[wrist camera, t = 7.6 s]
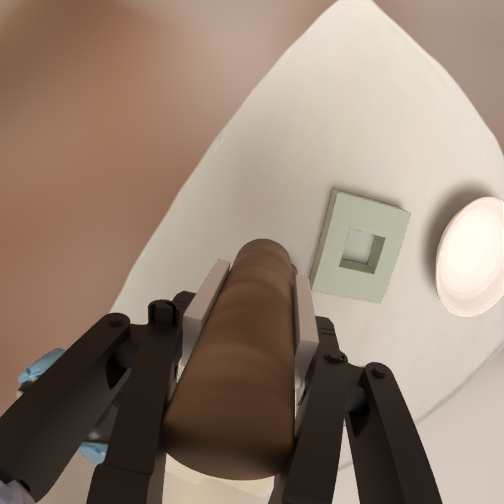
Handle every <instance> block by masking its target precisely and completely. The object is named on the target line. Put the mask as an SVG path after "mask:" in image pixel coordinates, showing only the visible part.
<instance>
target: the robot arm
mask: <svg viewBox="0 0 504 504" xmlns="http://www.w3.org/2000/svg"><path fill="white" fill-rule="evenodd" d="M229 269H230V261H225V260H219V259H218V260H217V262H216V263H215V265H214V267H213V268H212V270H211V271H210V273H209V274H208V276H207V278H206V279H205V281H204V282H203V284H202V286H201V287H200V289H199V290H198V292H197V294H196V293H191V292H187V291H182V292H180V293H178V294H177V295H176V296H175V297H174V299H173V300H172V301H169V300H155V301H153V302H151V303H150V304H149V305H148V324H146V325H138V324H130V319H129V317H128V316H126V315H124V314H121V313H110V314H107V315H105V316H104V317H102V318H101V319H100V320H99V321H98V322H97V323H96V324H95V325H94V326H92V327H91V328H90V329H89V330H88V331H87V332H86V333H85V334H84V335H82V336H81V337H80V338H79V339H78V340H77V341H76V342H75V343H74V344H73V345H72V346H71V347H70V348H69V349H68V350H67V351H65V350H63V349H60V348H57V349H54V350H52V351H50V352H48V353H47V354H45V355H44V356H42V357H41V358H39V359H38V360H37V361H35V362H34V363H33V364H32V365H31V366H29V368H27V369H26V370H25V371H23V372H22V373H21V374H20V375H19V377H18V381H19V384H20V385H21V387H20V388H19V389H18V390H17V392H16V396H17V400H16V401H15V402H14V404H13V405H11V407H10V408H9V409H8V410H7V411H6V412H5V413H4V414H3V415H2V416H1V417H0V504H36V503H37V502H38V501H40V500H41V499H42V498H43V497H44V496H45V495H46V494H47V493H48V492H49V490H50V489H51V488H52V486H53V485H54V484H55V482H56V481H57V479H58V478H59V476H60V475H61V473H62V472H63V470H64V469H65V467H66V466H67V464H68V463H69V461H70V460H71V458H72V457H73V455H74V454H75V453H76V451H77V450H78V451H79V452H80V453H81V454H82V455H83V456H84V457H85V458H86V459H88V460H89V461H90V462H92V463H94V464H95V465H97V466H96V467H95V471H94V473H93V476H92V481H91V485H90V489H89V493H88V497H87V502H86V504H162V494H163V483H164V473H165V463H166V454H167V452H166V450H165V442H164V434H163V425H162V420H163V416H164V413H165V410H166V408H167V405H168V403H169V401H170V399H171V397H172V394H173V392H174V390H175V388H176V386H177V383H176V381H177V374H178V363H179V361H180V359H181V365H183V366H186V364H187V361H188V359H189V357H190V355H191V353H192V351H193V348H194V346H195V344H196V342H197V340H198V338H199V336H200V334H201V331H202V329H203V327H204V325H205V323H206V321H207V318H208V316H209V314H210V312H211V310H212V308H213V306H214V303H215V301H216V299H217V297H218V295H219V293H220V291H221V289H222V286H223V284H224V282H225V280H226V278H227V276H228V274H229ZM292 298H293V325H294V364H295V388H299V389H301V388H302V386H303V383H304V381H305V388H304V391H303V393H302V396H301V398H300V400H299V403H298V405H297V406H299V407H298V411H297V415H296V418H295V445H294V451H293V453H292V454H291V456H290V458H289V459H288V461H287V463H286V464H285V466H284V468H283V469H282V471H281V473H279V474H278V477H277V480H276V482H275V485H274V488H273V491H272V494H271V497H270V500H269V502H268V504H332V499H333V494H334V489H335V483H336V477H337V471H338V464H339V457H340V450H341V442H342V434H343V424H344V419H345V423H346V428H347V433H348V438H349V443H350V449H351V454H352V459H353V465H354V470H355V476H356V482H357V487H358V494H359V500H360V504H442V500H441V497H440V494H439V491H438V488H437V484H436V482H435V478H434V475H433V472H432V470H431V467H430V464H429V461H428V458H427V456H426V453H425V450H424V447H423V445H422V442H421V440H420V437H419V434H418V432H417V430H416V427H415V424H414V422H413V419H412V417H411V414H410V412H409V410H408V407H407V405H406V403H405V400H404V398H403V396H402V393H401V391H400V389H399V386H398V384H397V382H396V380H395V378H394V375H393V373H392V371H391V370H390V369H389V368H388V367H387V366H386V365H384V364H381V363H377V362H371V363H368V364H367V365H366V367H365V368H364V369H363V368H360V367H357V366H354V365H352V364H350V363H348V359H347V356H346V355H345V354H344V353H343V352H341V351H340V350H339V346H338V341H337V337H336V333H335V329H334V325H333V323H332V322H331V321H330V320H329V318H325V317H319V316H315V313H314V307H313V301H312V296H311V290H310V284H309V279H308V276H303V275H298V274H296V275H295V279H294V283H293V288H292Z"/></svg>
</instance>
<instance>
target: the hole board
mask: <svg viewBox="0 0 504 504" xmlns="http://www.w3.org/2000/svg"><path fill="white" fill-rule="evenodd" d="M410 214H411V213H410V212H408V211H406V210H404V209H402V208H399V207H396V206H392V205H389V204H386V203H382V202H379V201H375V200H372V199H368V198H364V197H361V196H357V195H353V194H350V193H346V192H342V191H338V190H334V189H332V193H331V198H330V202H329V206H328V210H327V214H326V219H325V223H324V227H323V231H322V234H321V238H320V242H319V246H318V250H317V254H316V257H315V261H314V265H313V268H312V272H311V275H310V279H309V280H310V285H311V290H312V291H316V292H321V293H326V294H332V295H337V296H342V297H347V298H353V299H358V300H363V301H369V302H374V303H380V304H381V302H382V299H383V297H384V294H385V291H386V289H387V286H388V283H389V281H390V278H391V275H392V272H393V269H394V267H395V264H396V261H397V258H398V255H399V252H400V248H401V245H402V242H403V239H404V235H405V232H406V229H407V225H408V222H409V218H410ZM349 229H353V230H357V231H361V232H365V233H369V234H373V235H376V236H375V240H374V243H373V247H372V250H371V253H370V256H369V259H368V263H367V264H363V263H358V262H354V261H349V260H345V259H341V257H342V254H343V250H344V247H345V243H346V240H347V236H348V233H349Z"/></svg>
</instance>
